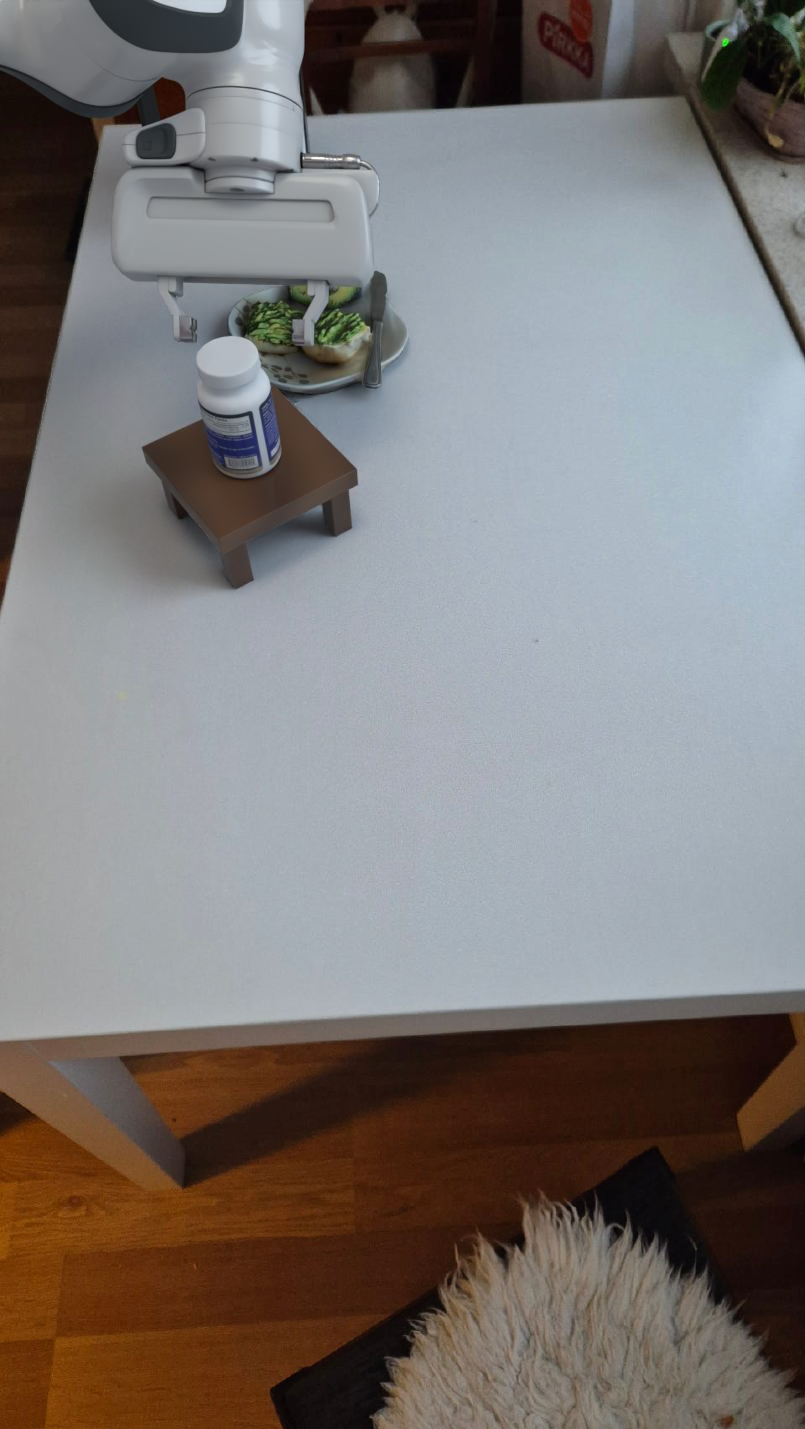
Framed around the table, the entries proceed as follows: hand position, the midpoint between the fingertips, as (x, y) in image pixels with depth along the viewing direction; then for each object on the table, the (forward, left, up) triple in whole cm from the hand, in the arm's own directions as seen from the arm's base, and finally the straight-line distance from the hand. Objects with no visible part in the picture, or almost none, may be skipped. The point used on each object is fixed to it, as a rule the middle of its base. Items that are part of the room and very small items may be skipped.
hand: (244, 343), depth 80 cm
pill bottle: (-3, -4, -7) cm, 9 cm away
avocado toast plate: (+15, +14, -14) cm, 25 cm away
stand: (-3, -4, -14) cm, 15 cm away
